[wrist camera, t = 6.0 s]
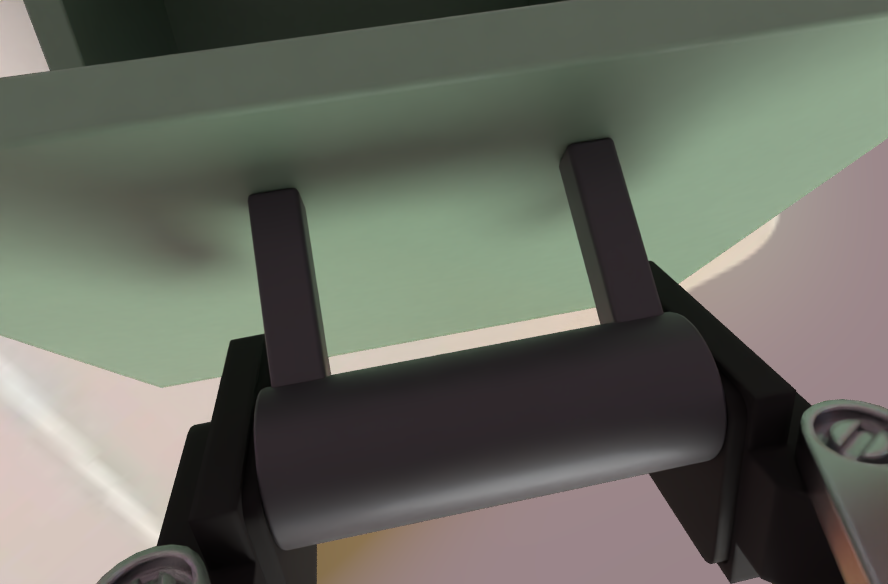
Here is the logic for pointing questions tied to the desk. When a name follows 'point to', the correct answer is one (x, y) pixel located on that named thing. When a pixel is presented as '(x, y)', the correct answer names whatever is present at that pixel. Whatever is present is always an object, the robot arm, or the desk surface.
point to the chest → (215, 23)
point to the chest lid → (431, 231)
